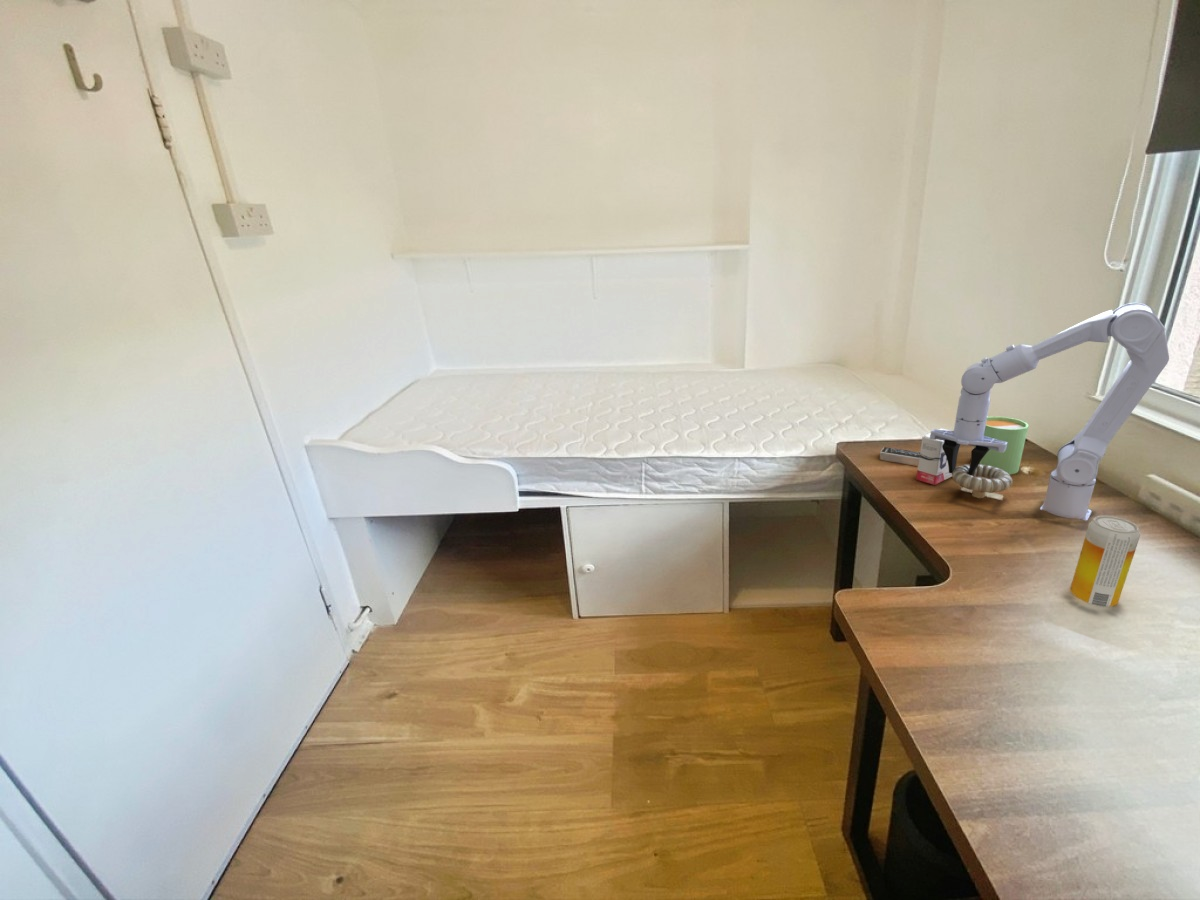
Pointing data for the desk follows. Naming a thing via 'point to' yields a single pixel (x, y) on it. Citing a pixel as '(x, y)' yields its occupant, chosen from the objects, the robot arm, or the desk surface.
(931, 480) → the ink box
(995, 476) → the ring
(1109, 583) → the orange pill bottle
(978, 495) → the stand
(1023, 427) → the mug
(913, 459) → the multiport hub
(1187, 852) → the desk surface
